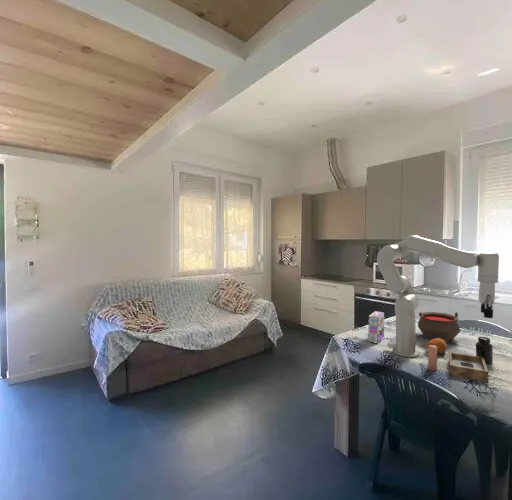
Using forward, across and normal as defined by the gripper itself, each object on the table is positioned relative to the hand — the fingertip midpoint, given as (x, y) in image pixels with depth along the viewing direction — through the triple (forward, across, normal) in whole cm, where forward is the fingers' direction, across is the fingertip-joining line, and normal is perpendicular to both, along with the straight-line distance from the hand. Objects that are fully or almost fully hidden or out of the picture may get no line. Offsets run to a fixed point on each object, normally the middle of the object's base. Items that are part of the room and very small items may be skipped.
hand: (486, 315), depth 141 cm
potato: (+27, -14, -19) cm, 36 cm away
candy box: (+27, -20, -51) cm, 61 cm away
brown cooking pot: (+27, -41, -18) cm, 53 cm away
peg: (+27, +10, -21) cm, 35 cm away
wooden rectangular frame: (+26, +4, -7) cm, 28 cm away
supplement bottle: (+27, -12, +1) cm, 29 cm away
